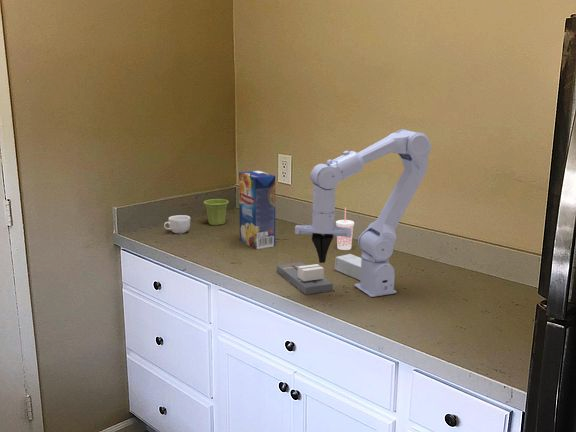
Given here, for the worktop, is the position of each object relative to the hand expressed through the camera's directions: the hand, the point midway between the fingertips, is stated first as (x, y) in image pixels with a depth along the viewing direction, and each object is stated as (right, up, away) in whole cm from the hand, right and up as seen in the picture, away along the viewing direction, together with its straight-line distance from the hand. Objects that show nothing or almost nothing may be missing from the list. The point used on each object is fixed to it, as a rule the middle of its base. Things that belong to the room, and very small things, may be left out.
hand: (322, 261), depth 160 cm
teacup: (-49, +6, +61) cm, 79 cm away
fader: (-3, -5, +8) cm, 10 cm away
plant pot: (-36, +9, +74) cm, 83 cm away
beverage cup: (+10, +1, +44) cm, 45 cm away
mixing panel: (-5, -6, +12) cm, 15 cm away
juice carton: (-19, +2, +49) cm, 52 cm away
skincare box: (+7, -1, +23) cm, 24 cm away
